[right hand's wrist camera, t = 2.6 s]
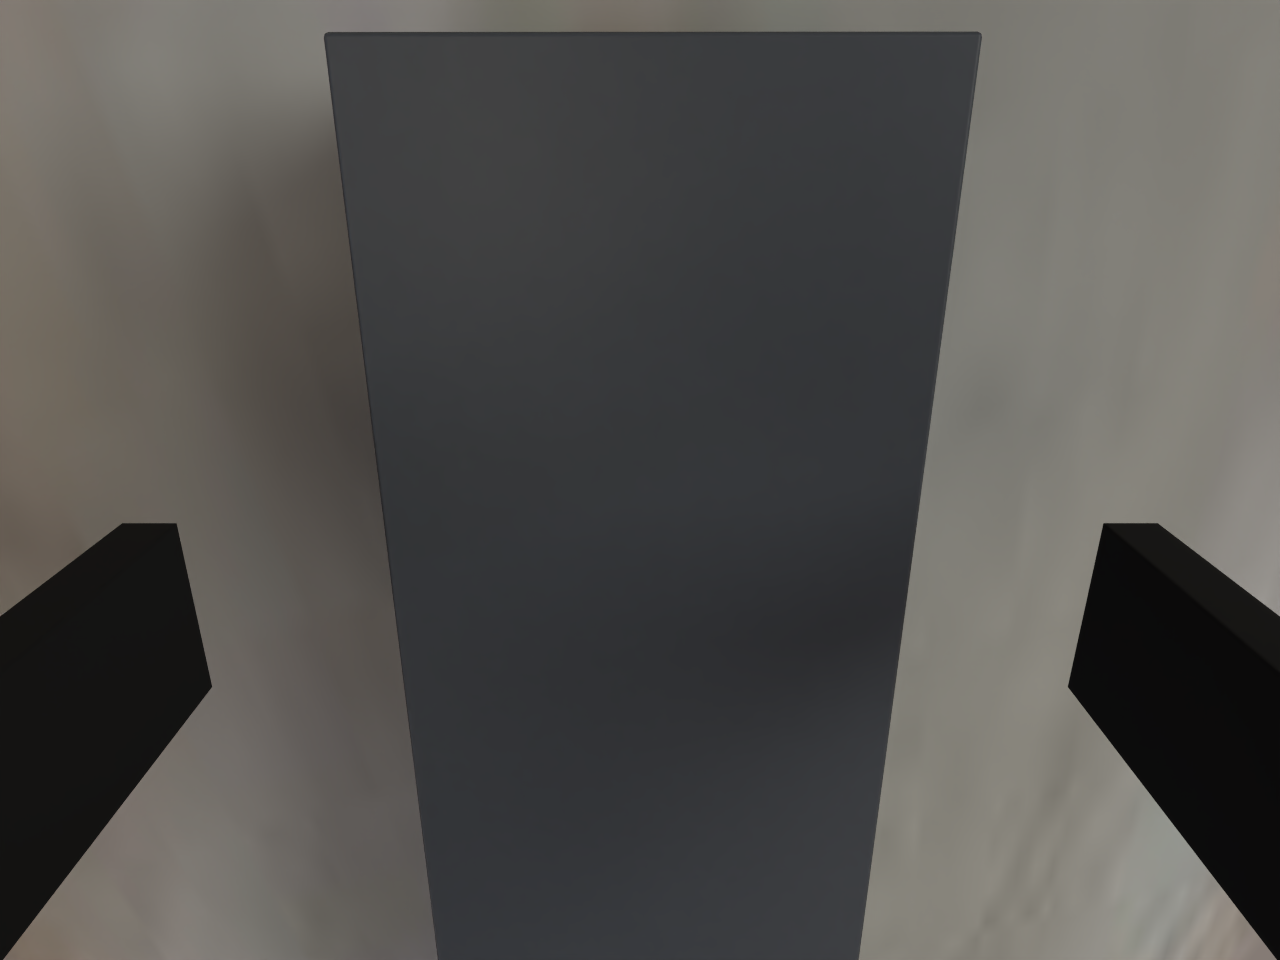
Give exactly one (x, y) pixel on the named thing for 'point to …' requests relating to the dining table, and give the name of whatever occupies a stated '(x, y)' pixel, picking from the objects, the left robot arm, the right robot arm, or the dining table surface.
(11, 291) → the dining table surface
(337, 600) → the dining table surface
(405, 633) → the wide beam
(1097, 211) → the dining table surface
